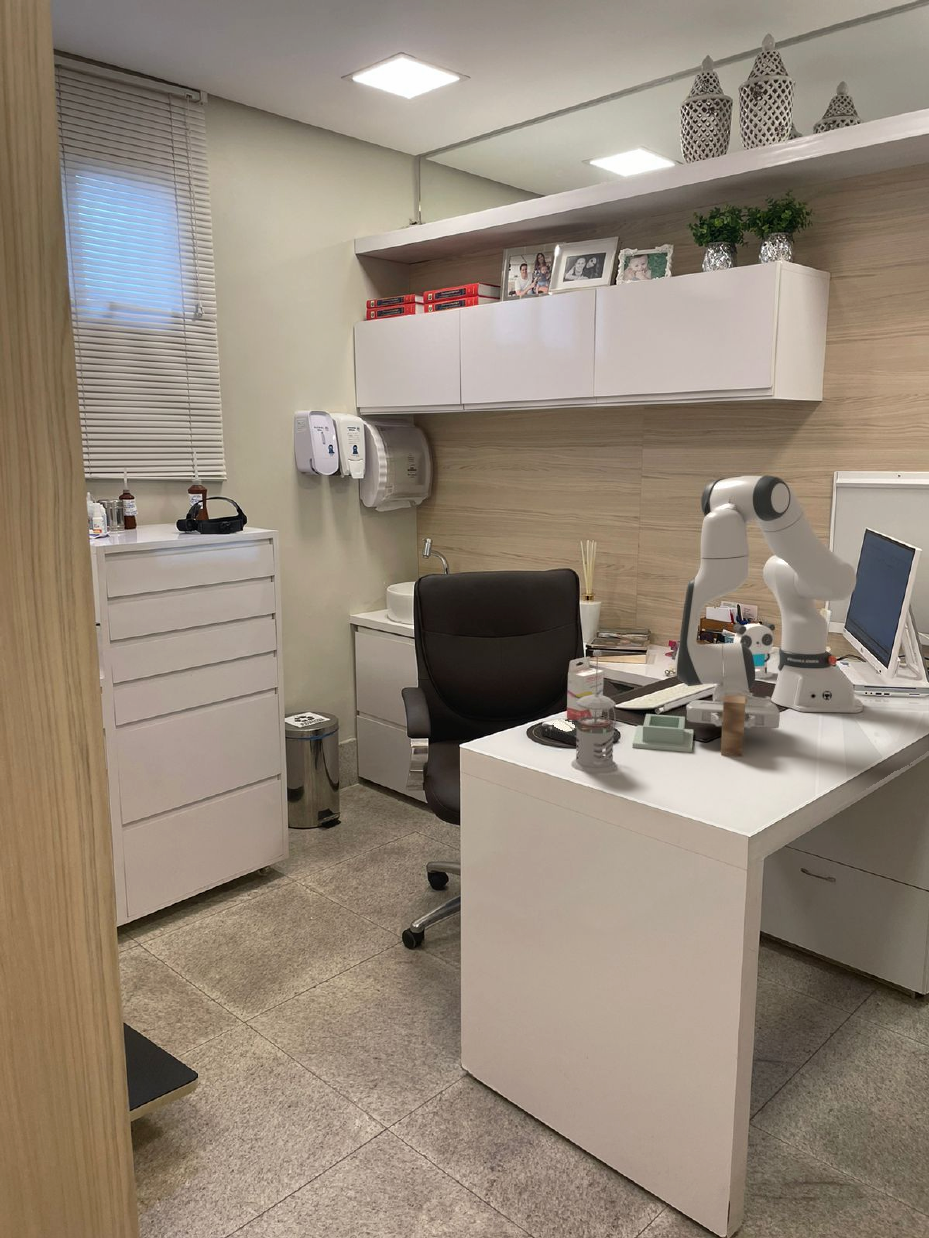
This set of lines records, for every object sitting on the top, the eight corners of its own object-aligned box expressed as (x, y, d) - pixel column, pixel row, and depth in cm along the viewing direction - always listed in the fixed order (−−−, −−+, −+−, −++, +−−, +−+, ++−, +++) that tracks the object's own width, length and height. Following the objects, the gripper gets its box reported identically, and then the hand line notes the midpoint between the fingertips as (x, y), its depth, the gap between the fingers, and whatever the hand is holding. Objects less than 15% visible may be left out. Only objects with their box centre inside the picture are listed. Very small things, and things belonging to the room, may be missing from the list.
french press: (561, 765, 199) (564, 650, 194) (591, 752, 208) (594, 641, 203) (601, 776, 193) (605, 657, 188) (630, 761, 202) (634, 648, 197)
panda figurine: (743, 679, 272) (746, 628, 270) (723, 670, 283) (726, 621, 280) (780, 676, 275) (783, 626, 272) (759, 667, 286) (762, 619, 283)
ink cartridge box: (581, 722, 230) (583, 664, 227) (566, 718, 233) (567, 660, 231) (603, 715, 236) (605, 658, 233) (587, 711, 239) (589, 655, 236)
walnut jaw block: (741, 747, 211) (744, 696, 209) (742, 756, 205) (745, 703, 203) (720, 746, 212) (723, 694, 210) (721, 754, 206) (723, 701, 204)
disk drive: (540, 737, 220) (589, 751, 209) (540, 726, 220) (590, 739, 209) (569, 728, 227) (618, 742, 216) (569, 717, 227) (618, 730, 216)
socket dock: (693, 733, 221) (694, 715, 220) (691, 752, 208) (692, 732, 207) (637, 729, 224) (638, 711, 224) (632, 747, 211) (633, 728, 210)
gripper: (687, 691, 222) (685, 706, 209) (778, 697, 217) (782, 713, 203) (685, 716, 223) (684, 734, 210) (776, 723, 218) (780, 741, 205)
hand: (733, 724), depth 207 cm, fingers closed on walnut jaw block, 4 cm apart
